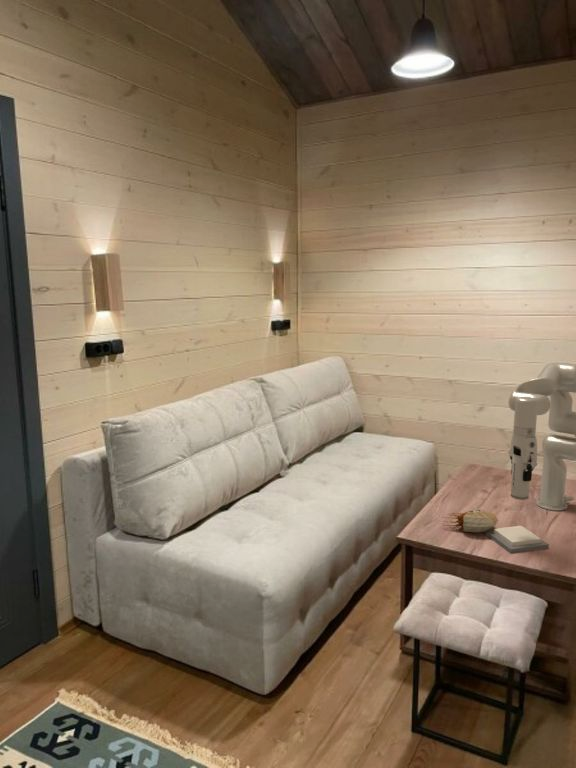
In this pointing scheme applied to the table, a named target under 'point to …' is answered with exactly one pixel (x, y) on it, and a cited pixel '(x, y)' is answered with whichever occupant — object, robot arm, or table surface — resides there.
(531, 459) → the robot arm
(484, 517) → the nautilus shell
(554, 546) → the table surface
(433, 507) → the table surface
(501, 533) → the pedestal
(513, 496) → the travel mug
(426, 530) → the table surface
